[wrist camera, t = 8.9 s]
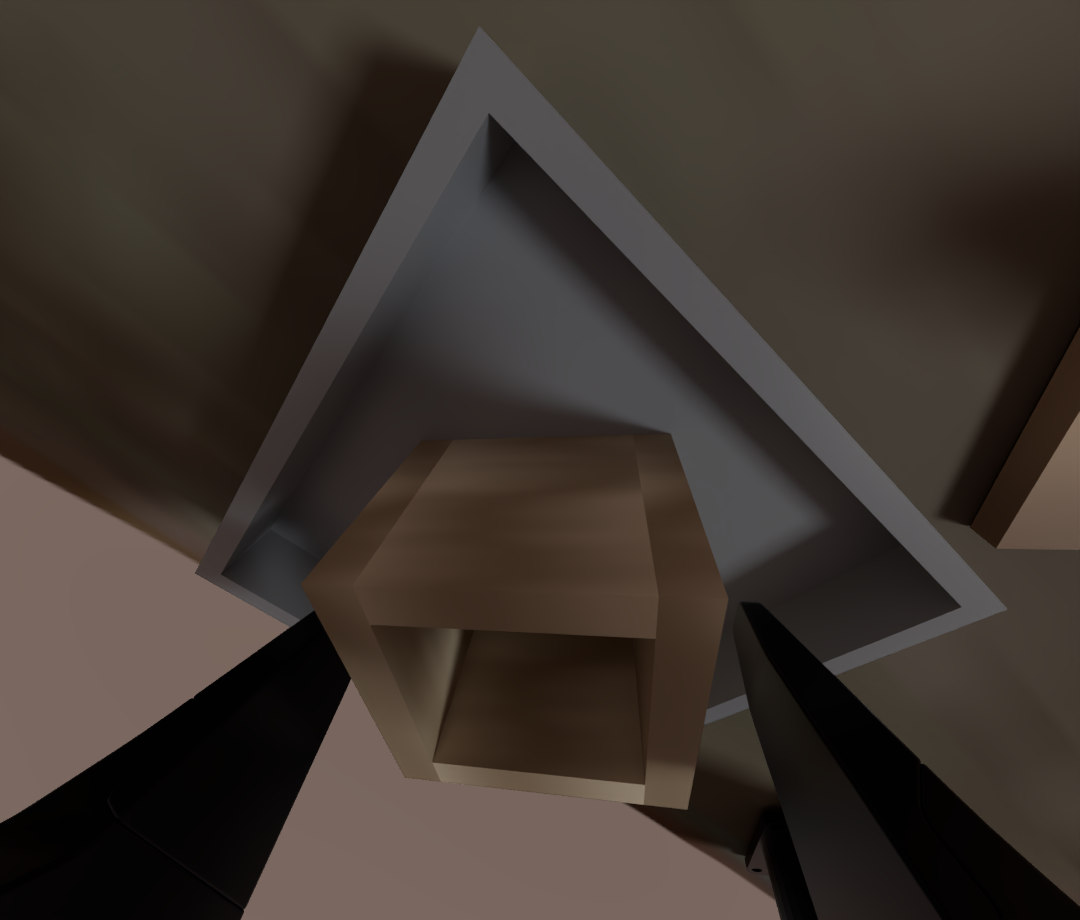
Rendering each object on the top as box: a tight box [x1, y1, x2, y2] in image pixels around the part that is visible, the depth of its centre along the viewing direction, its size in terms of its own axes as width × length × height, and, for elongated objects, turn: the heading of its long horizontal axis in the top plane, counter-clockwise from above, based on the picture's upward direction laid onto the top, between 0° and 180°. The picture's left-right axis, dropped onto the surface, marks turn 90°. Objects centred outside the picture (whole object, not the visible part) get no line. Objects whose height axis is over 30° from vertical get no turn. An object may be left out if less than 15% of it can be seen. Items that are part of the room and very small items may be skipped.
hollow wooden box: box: [301, 434, 728, 810], centre depth 10 cm, size 6×8×5 cm
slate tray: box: [195, 26, 1007, 725], centre depth 11 cm, size 14×14×2 cm
